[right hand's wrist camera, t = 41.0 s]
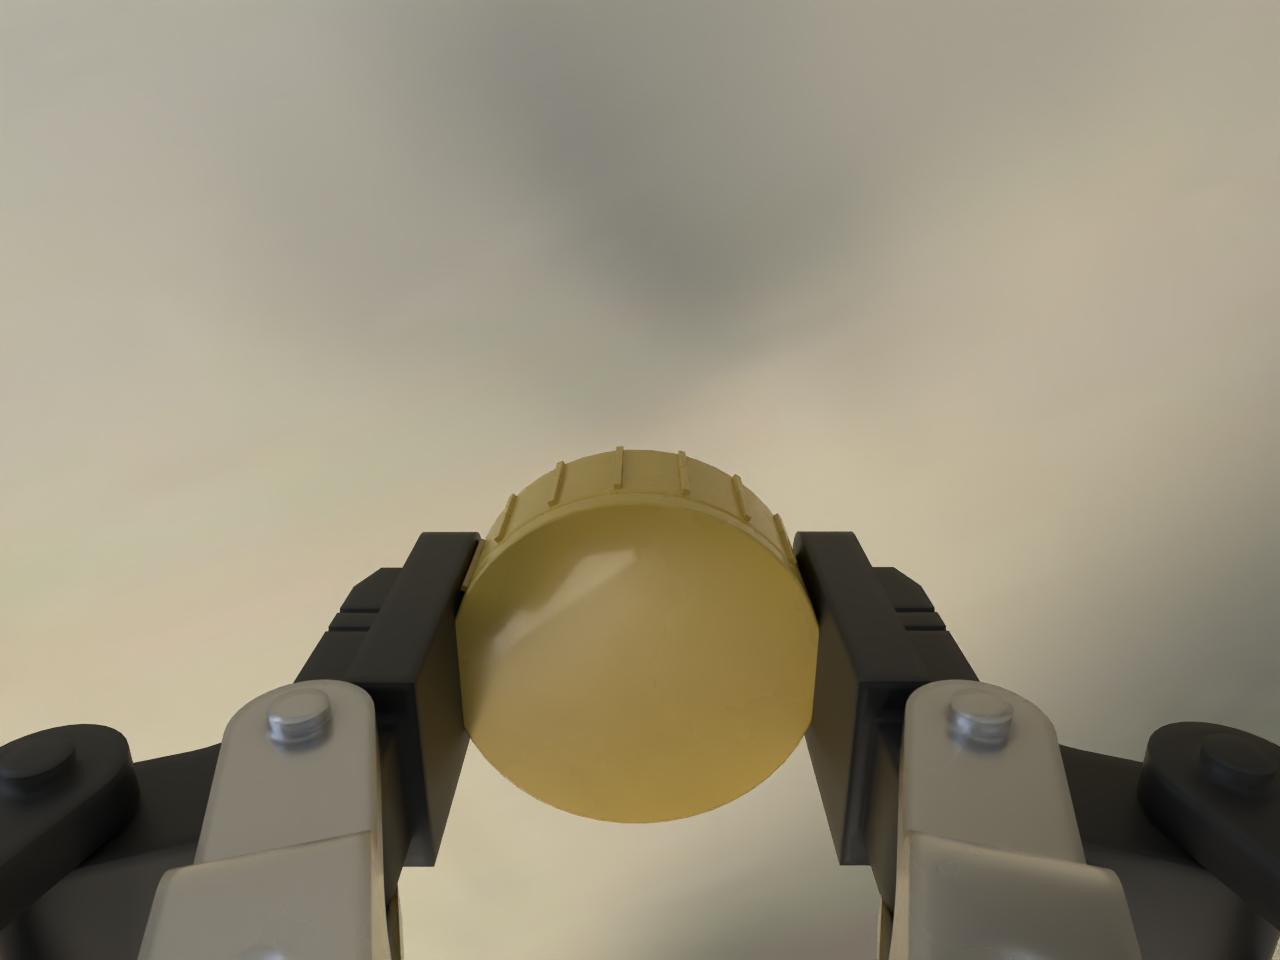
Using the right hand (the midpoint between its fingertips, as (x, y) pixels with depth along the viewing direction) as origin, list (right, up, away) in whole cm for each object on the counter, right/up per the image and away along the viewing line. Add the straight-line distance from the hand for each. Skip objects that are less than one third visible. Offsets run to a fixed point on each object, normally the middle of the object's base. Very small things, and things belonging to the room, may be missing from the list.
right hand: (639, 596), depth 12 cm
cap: (0, -1, -1) cm, 2 cm away
